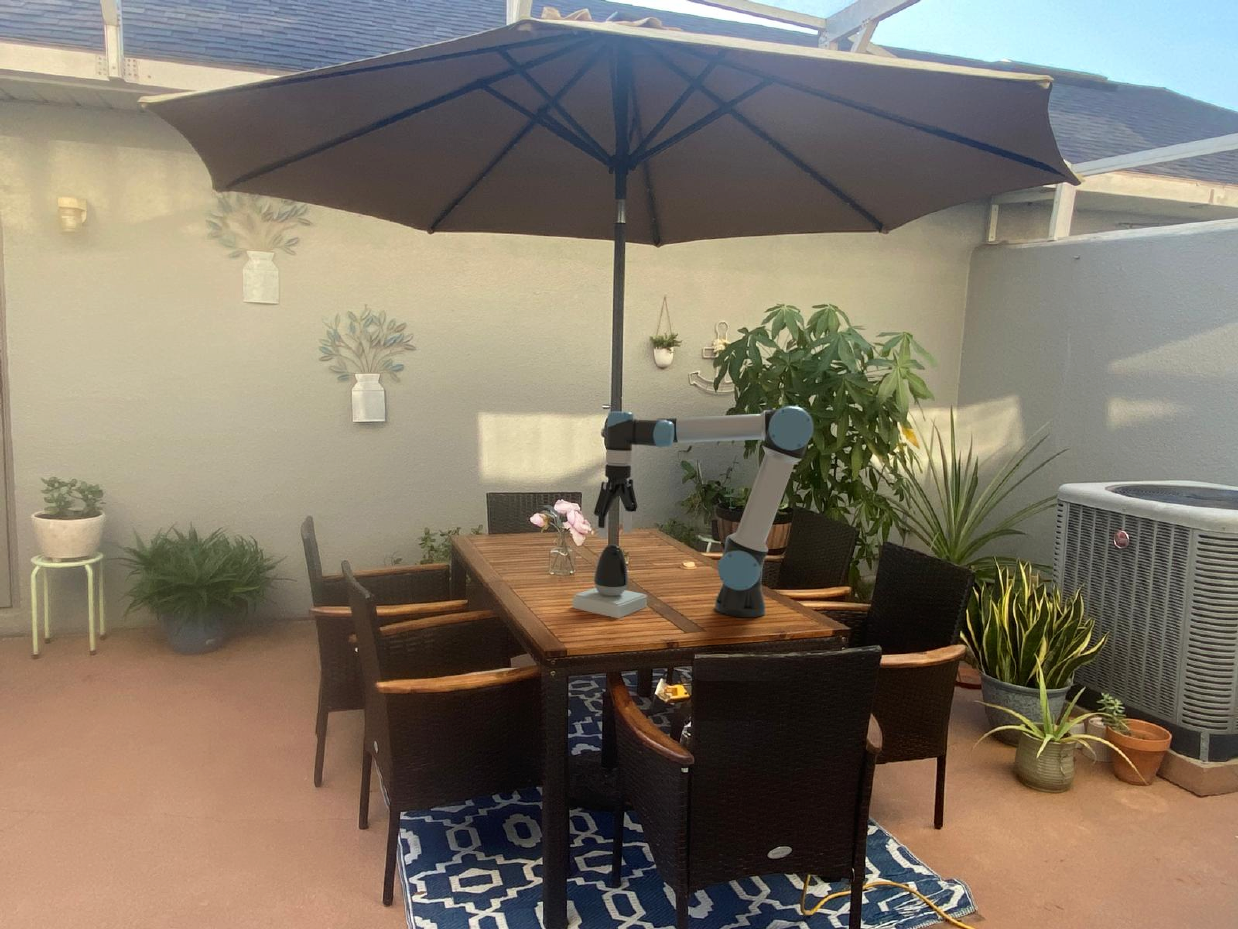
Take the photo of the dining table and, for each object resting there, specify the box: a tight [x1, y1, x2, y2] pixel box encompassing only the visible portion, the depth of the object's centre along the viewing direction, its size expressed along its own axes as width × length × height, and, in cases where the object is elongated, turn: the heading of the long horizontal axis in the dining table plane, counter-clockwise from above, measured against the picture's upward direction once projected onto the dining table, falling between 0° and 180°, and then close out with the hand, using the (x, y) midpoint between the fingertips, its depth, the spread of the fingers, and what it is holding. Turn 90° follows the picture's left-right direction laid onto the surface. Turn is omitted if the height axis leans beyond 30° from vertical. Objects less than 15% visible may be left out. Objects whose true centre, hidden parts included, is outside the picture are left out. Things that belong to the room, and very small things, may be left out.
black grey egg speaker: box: [593, 543, 629, 597], centre depth 247 cm, size 10×10×15 cm
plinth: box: [572, 587, 648, 619], centre depth 248 cm, size 16×16×4 cm
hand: (615, 535), depth 246 cm, fingers open, 13 cm apart
